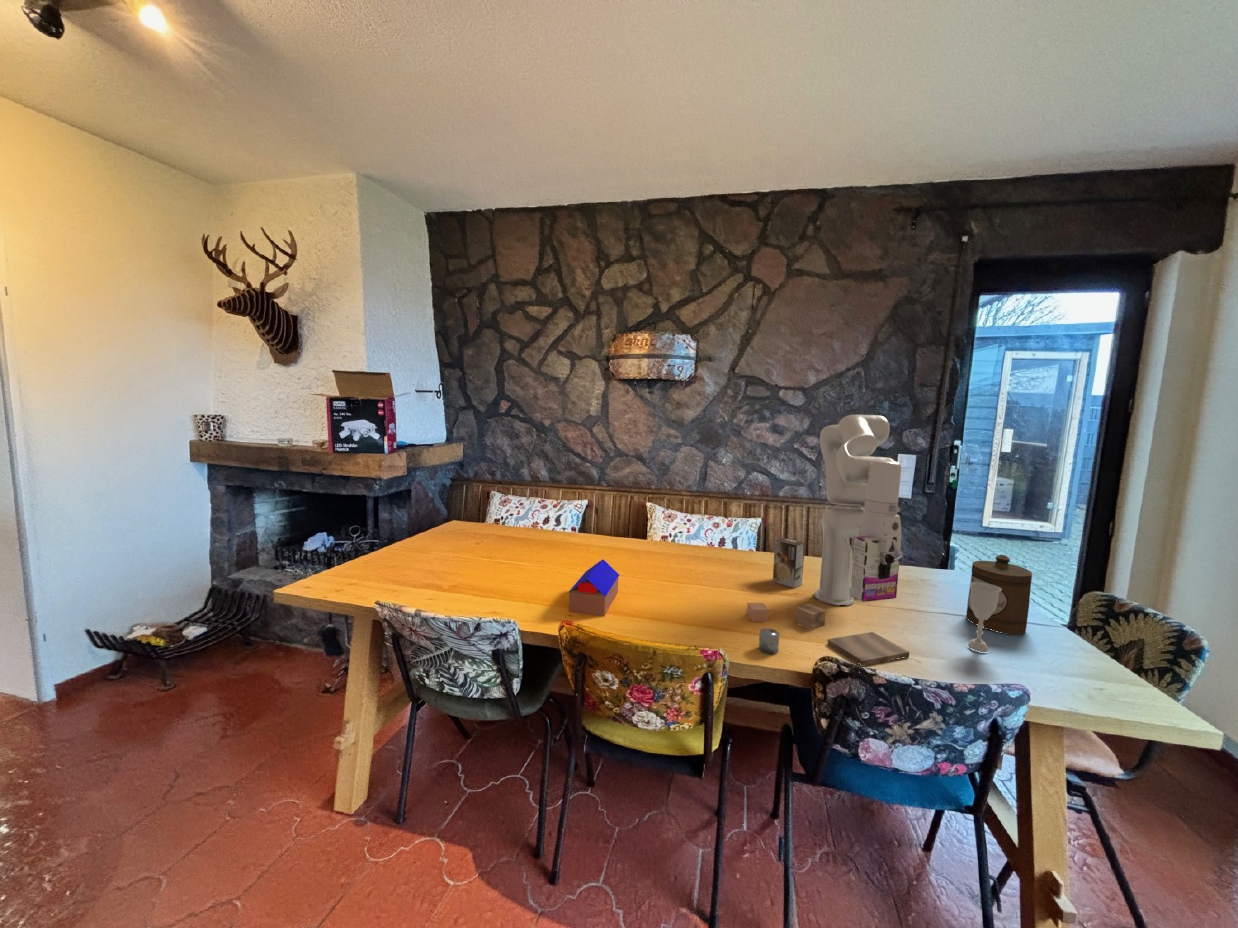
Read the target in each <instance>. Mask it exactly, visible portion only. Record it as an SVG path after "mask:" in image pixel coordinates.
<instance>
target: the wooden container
mask: <svg viewBox="0 0 1238 928" xmlns="http://www.w3.org/2000/svg"><path fill="white" fill-rule="evenodd" d="M994 558H995V561H993V560H975V561H973V562H972V564H971V576H970V583H972V582H981V583H987V584H992V585H995V586H998V587H1000V588H1001V589H1002V590H1001V591H1000V593H999V597H998V604H997V608H996V609H995V611H994V613H993V614H992V615H991V616H990V617H989V618H988V620H984V621H983V626H984V628H987V629H992V630H994V631H998V632H1002V633H1001V634H1003V633H1007V634H1006V635H1011V634H1017V635H1023V634H1025V633H1026V632H1027V631H1026V630H1027V625H1028V618H1029V610H1030V602H1031V601H1030V598H1031V586H1032V580H1033V579H1032V578H1033V572H1032V571H1030V570H1029V569H1027V568H1025V567H1023V566H1019V565H1015V564H1011V563H1009V562H1010V561H1011V559H1010V557H1008V556H1007V555H1004V554H999V555H996V556H995V557H994ZM970 594H971V586H970V585H969V590H968V596H967V597H968V598H967V605H966V606H967V608H966V615H965V616H967V618H968V619H969V620H970V621H972V622H973V623H974V624H978V623H979V619H978V618H976V617H975V615H974V612H973V610H972V608H971V604H970ZM967 618H966V619H967ZM970 621H969V622H970ZM974 624H973V625H974ZM994 631H993V632H994ZM1025 631H1026V632H1025ZM998 632H997V633H998Z"/></svg>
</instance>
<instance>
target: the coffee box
mask: <svg viewBox="0 0 1238 928" xmlns="http://www.w3.org/2000/svg"><path fill="white" fill-rule="evenodd" d="M805 543H806V542H803V541H798V540H796V539H795V540H794V539H790V538H786V537H780V538H778V539H775V540H774V553H773V554H774V555H773V567H772V568H773V570H772V571H773V572H772V573H773V574H772V582H773V583H776V582H777V583H776V584H780V585H783V586H787V587H789V588H793V589H796V588H798V587H800V586H802V585H803V576H804V575H803V574H804V561H805V560H804V559H805V547H806V545H805Z"/></svg>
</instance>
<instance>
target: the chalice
mask: <svg viewBox="0 0 1238 928" xmlns="http://www.w3.org/2000/svg"><path fill="white" fill-rule="evenodd" d="M970 586H971V594H970V604H971V608H972V610H973V612H974V615H975V617H976V618H978V619H979V623H978V625H977V626H976V627H977V630H976V631H975V633H976V637H975V638H972V639H971V640H969V642H968V644H967V645H968V646H969V648H972V649H974V650H977V651H980V652H987V651H989V649H988V645H987V644H986V642H985V641H984V640H983V639H982V636H983V635H984V631H983V627H984V626H983V621H984V620H988V618H989V617H990V616H991V615H992V614H993V613H994V611H995V609H996V608H997V604H998V597H999V593H1000V591H1001V590H1002V589H1001V588H1000V587H998V586H995V585H992V584H987V583H981V582H972V583H971V582H969V587H970Z"/></svg>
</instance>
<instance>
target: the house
mask: <svg viewBox="0 0 1238 928" xmlns="http://www.w3.org/2000/svg"><path fill="white" fill-rule="evenodd" d="M619 576H620V574H619V573H618V572H617V571H616V569H614V568H613V567H612V566H611V565H610V564H609V563H608V562H607V561H606V560H605V559H604V558H602V559H601V560H599V561H598V562H597V563H595V564H594V565H592V566H591V567H590V568H589V569H587V570H585V572H584V573H583V574H582V575H581V576H580V578H578V580H577V581H576V582H575V584H574V585H573V586H572V587H571V588H570V590H569V591H568V597H569V598H568V612H569V613H573V614H582V615H590V616H591V615H592V616H600V617H606V614H607V613H608V610H609V609H610V607H611V606H610V605H612V603H614V601H615V599H616V597H617V595H618V594H617V593H619Z"/></svg>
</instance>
